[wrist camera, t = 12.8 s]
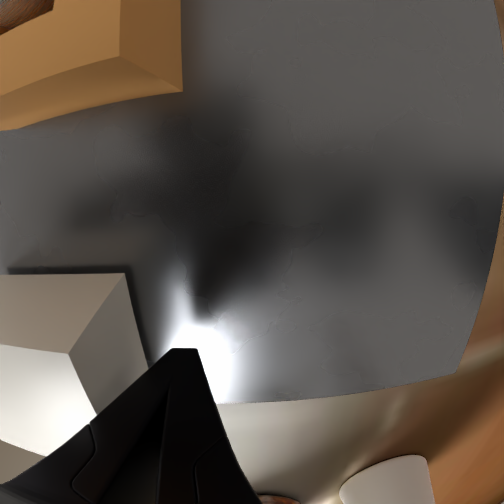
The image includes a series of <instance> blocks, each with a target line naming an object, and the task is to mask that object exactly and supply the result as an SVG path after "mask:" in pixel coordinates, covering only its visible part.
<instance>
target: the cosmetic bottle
mask: <svg viewBox="0 0 504 504" xmlns="http://www.w3.org/2000/svg"><path fill="white" fill-rule="evenodd" d="M339 495H340V497H341V500H342V502H343V504H435V500H434V496H433V491H432V486H431V481H430V476H429V470H428V465H427V461H426V459H425V458H424V457H422V456H419V455H406V456H400V457H396V458H392V459H389V460H386V461H383V462H380V463H378V464H375V465H373V466H371V467H369V468H367V469H365V470H363V471H361V472H359V473H357V474H356V475H354V476H353V477H351V478H350V479H349V480H347V481H346V482H345V483H344V484H343V485H342V487H341V488H340V491H339Z"/></svg>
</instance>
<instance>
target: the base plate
mask: <svg viewBox="0 0 504 504" xmlns="http://www.w3.org/2000/svg"><path fill="white" fill-rule="evenodd" d="M53 7H54V0H0V27H1V28H5V29H8V30H12V29H14V28H16V27H18V26H20V25H22V24H24V23H26V22H28V21H30V20H32V19H34V18H36V17H39V16H41V15H43V14H45V13H48V12H50V11H52V10H53ZM181 56H182V82H183V92H175V93H167V94H160V95H153V96H147V97H141V98H135V99H130V100H125V101H119V102H114V103H110V104H105V105H100V106H96V107H92V108H87V109H83V110H79V111H75V112H71V113H68V114H64V115H60V116H57V117H53V118H50V119H46V120H43V121H40V122H37V123H34V124H30V125H27V126H24V127H21V128H18V129H13V130H4V131H0V275H47V274H109V273H125V277H126V282H127V287H128V291H129V296H130V300H131V305H132V309H133V313H134V317H135V321H136V325H137V329H138V333H139V337H140V341H141V344H142V348H143V351H144V355H145V359H146V362H147V365H148V369H149V368H150V367H151V366H152V365H153V364H154V363H155V362H157V361H158V360H159V359H160V358H161V357H162V356H163V355H164V354H165V353H166V352H167V351H169V350H170V349H171V348H197V349H198V352H199V355H200V358H201V361H202V364H203V367H204V370H205V374H206V377H207V380H208V383H209V386H210V389H211V392H212V395H213V398H214V401H215V403H257V402H276V401H291V400H303V399H314V398H323V397H332V396H340V395H347V394H355V393H361V392H368V391H374V390H380V389H385V388H391V387H396V386H401V385H406V384H411V383H416V382H420V381H425V380H429V379H433V378H437V377H441V376H445V375H449V374H453V373H455V372H456V370H457V368H458V365H459V363H460V360H461V358H462V355H463V353H464V350H465V348H466V345H467V342H468V340H469V337H470V334H471V331H472V328H473V325H474V322H475V319H476V316H477V313H478V310H479V307H480V304H481V300H482V297H483V293H484V290H485V286H486V282H487V279H488V275H489V271H490V266H491V262H492V258H493V253H494V248H495V244H496V238H497V233H498V227H499V222H500V215H501V208H502V201H503V193H504V56H503V48H502V41H501V35H500V29H499V23H498V18H497V13H496V9H495V4H494V0H181Z"/></svg>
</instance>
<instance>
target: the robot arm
mask: <svg viewBox="0 0 504 504" xmlns="http://www.w3.org/2000/svg"><path fill="white" fill-rule="evenodd" d="M89 424H90V425H89ZM89 424H86V425H85V426H84V427H83V428H82V429H81V430H80V431H78V432H77V433H76V434H75V435H74V436H72V437H71V438H70V439H69V440H68V441H66V442H65V443H64V444H63V445H61V446H60V447H59V448H57V449H56V450H55V451H53V452H52V453H50V454H49V455H48V456H46V457H45V458H43V459H42V460H40V461H39V462H37V463H36V464H35V465H33V466H32V467H30V468H29V469H27V470H26V471H24V472H23V473H21V474H20V475H18V476H17V477H15V478H13V479H12V480H10V481H8V482H5V483H3V484H0V504H263V503H262V502H261V500H260V499H259V497H258V496H257V494H256V493H255V491H254V490H253V488H252V486H251V485H250V483H249V481H248V480H247V478H246V476H245V475H244V473H243V471H242V469H241V467H240V465H239V463H238V461H237V459H236V457H235V454H234V452H233V450H232V447H231V444H230V442H229V439H228V437H227V434H226V431H225V429H224V426H223V423H222V420H221V418H220V415H219V412H218V409H217V406H216V403H215V401H214V398H213V395H212V392H211V389H210V386H209V383H208V380H207V377H206V374H205V370H204V367H203V364H202V361H201V358H200V355H199V352H198V349H197V348H171V349H170V350H169V351H167V352H166V353H165V354H164V355H163V356H162V357H161V358H160V359H159V360H158V361H157V362H155V363H154V364H153V365H152V366H151V367H150V368H149V369H148V370H147V371H146V372H144V373H143V374H142V375H141V376H140V377H139V378H138V379H137V380H136V381H134V382H133V383H132V384H131V385H130V386H129V387H128V388H127V389H126V390H125V391H123V392H122V393H121V394H120V395H119V396H118V397H117V398H116V399H115V400H113V401H112V402H111V403H110V404H109V405H108V406H107V407H106V408H104V409H103V410H102V411H101V412H100V413H99V414H98V415H97V416H96V417H94V418H93V419H92V420H91V421H90V422H89Z"/></svg>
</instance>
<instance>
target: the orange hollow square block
mask: <svg viewBox="0 0 504 504" xmlns="http://www.w3.org/2000/svg"><path fill="white" fill-rule="evenodd" d="M175 92H183V82H182V56H181V0H54V7H53V10H52V11H50V12H48V13H45V14H43V15H41V16H39V17H36V18H34V19H32V20H30V21H28V22H26V23H24V24H22V25H20V26H18V27H16V28H14V29H12V30H8V29H5V28H1V27H0V131H4V130H13V129H18V128H21V127H24V126H27V125H30V124H34V123H37V122H40V121H43V120H46V119H50V118H53V117H57V116H60V115H64V114H68V113H71V112H75V111H79V110H83V109H87V108H92V107H96V106H100V105H105V104H110V103H114V102H119V101H125V100H130V99H135V98H141V97H147V96H153V95H160V94H167V93H175Z"/></svg>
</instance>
